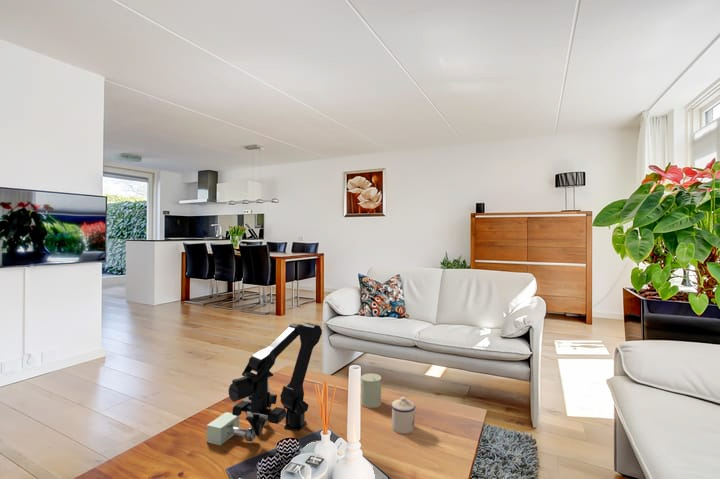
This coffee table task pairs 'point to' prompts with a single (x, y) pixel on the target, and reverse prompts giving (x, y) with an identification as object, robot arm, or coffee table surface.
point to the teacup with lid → (403, 415)
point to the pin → (242, 432)
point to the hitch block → (221, 428)
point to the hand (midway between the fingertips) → (258, 436)
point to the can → (371, 390)
